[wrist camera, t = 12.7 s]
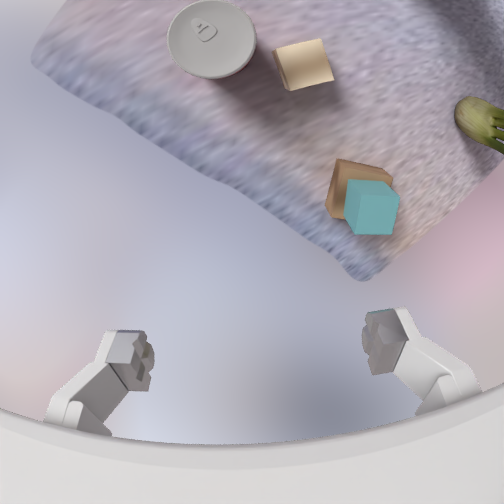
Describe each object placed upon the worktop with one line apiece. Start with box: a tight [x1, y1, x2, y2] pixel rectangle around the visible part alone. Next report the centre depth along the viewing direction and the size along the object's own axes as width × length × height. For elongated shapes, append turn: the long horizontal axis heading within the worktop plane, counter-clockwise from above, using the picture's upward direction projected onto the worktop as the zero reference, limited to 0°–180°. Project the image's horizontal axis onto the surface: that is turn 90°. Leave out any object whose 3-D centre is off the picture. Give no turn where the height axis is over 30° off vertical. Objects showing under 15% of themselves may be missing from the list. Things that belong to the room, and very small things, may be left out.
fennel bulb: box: [454, 96, 504, 154], centre depth 28 cm, size 6×5×12 cm
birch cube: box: [272, 38, 334, 91], centre depth 29 cm, size 5×5×5 cm
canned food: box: [167, 0, 257, 79], centre depth 25 cm, size 8×8×11 cm
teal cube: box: [343, 179, 400, 235], centre depth 35 cm, size 5×5×5 cm
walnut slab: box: [325, 159, 393, 219], centre depth 39 cm, size 7×7×4 cm
